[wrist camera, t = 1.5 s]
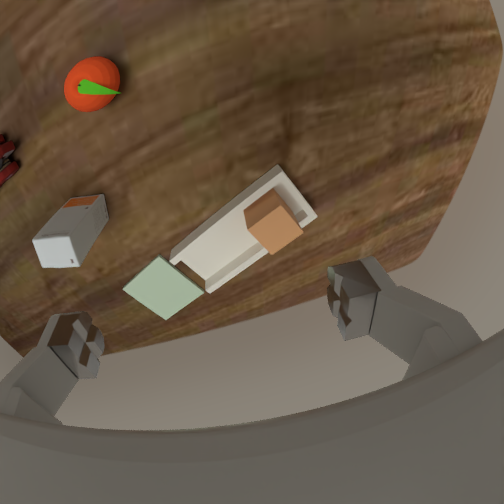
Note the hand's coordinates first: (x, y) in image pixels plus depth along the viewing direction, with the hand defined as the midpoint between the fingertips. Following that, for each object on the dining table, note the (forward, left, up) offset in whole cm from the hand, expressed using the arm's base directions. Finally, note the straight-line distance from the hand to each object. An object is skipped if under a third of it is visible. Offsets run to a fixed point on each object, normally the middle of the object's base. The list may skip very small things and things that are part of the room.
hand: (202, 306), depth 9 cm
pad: (+23, +13, -30) cm, 40 cm away
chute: (+6, +13, -30) cm, 34 cm away
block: (+1, +13, -29) cm, 32 cm away
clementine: (+5, -15, -30) cm, 34 cm away
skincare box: (+20, -5, -30) cm, 37 cm away
